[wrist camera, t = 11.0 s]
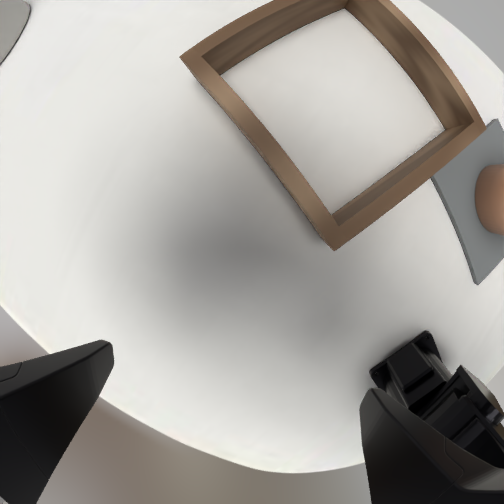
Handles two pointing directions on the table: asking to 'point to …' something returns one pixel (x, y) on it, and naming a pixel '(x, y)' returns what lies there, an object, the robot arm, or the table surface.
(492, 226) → the terracotta pot
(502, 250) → the slate mat
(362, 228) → the brown wooden square frame
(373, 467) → the robot arm
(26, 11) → the cylinder vase
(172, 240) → the table surface
